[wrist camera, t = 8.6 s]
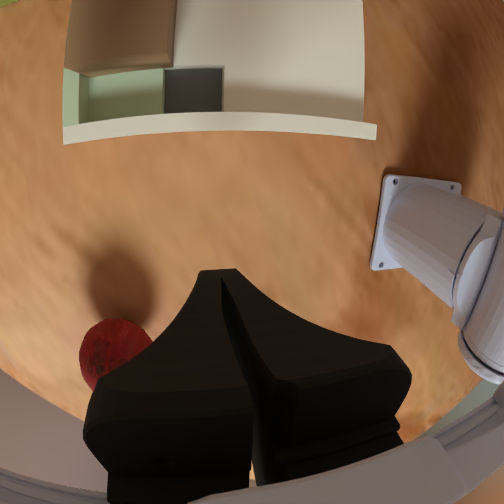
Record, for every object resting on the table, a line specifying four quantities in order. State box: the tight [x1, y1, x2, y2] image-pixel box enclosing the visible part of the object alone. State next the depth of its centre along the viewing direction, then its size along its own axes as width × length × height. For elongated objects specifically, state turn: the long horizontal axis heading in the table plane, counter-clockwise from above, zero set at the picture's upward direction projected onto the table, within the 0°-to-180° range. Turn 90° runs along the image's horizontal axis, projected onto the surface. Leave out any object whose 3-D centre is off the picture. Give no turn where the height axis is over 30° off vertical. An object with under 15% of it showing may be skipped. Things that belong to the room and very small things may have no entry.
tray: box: [63, 0, 377, 145], centre depth 13 cm, size 18×13×3 cm
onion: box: [79, 318, 153, 391], centre depth 18 cm, size 6×6×8 cm
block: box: [64, 0, 178, 78], centre depth 11 cm, size 5×5×4 cm
